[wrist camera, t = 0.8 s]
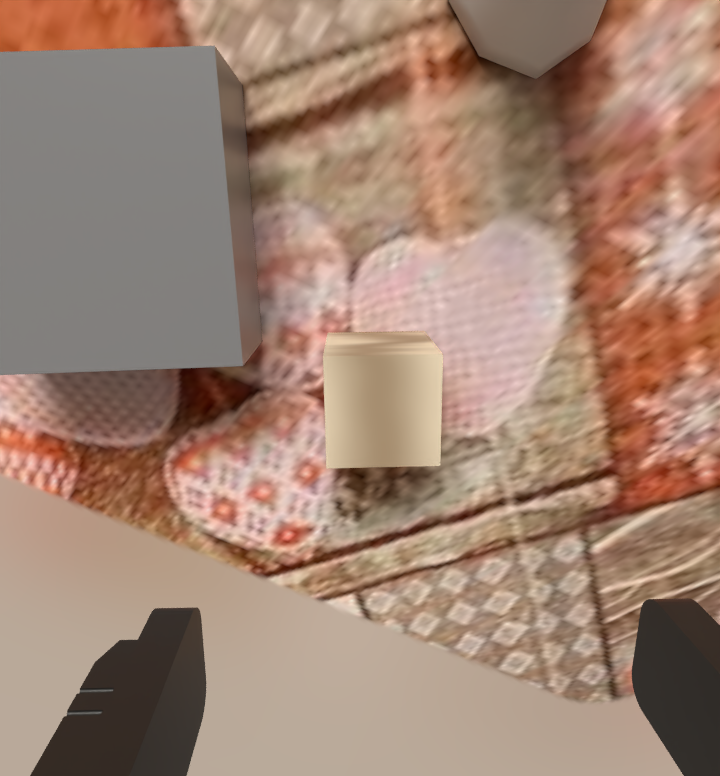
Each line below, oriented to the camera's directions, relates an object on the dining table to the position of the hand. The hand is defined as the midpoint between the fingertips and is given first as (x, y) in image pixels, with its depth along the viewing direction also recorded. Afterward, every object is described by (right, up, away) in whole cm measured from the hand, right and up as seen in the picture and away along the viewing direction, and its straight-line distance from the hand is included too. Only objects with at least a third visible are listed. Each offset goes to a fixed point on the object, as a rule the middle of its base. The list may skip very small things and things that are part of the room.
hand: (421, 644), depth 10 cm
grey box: (-12, +13, +18) cm, 25 cm away
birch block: (0, +5, +20) cm, 21 cm away
